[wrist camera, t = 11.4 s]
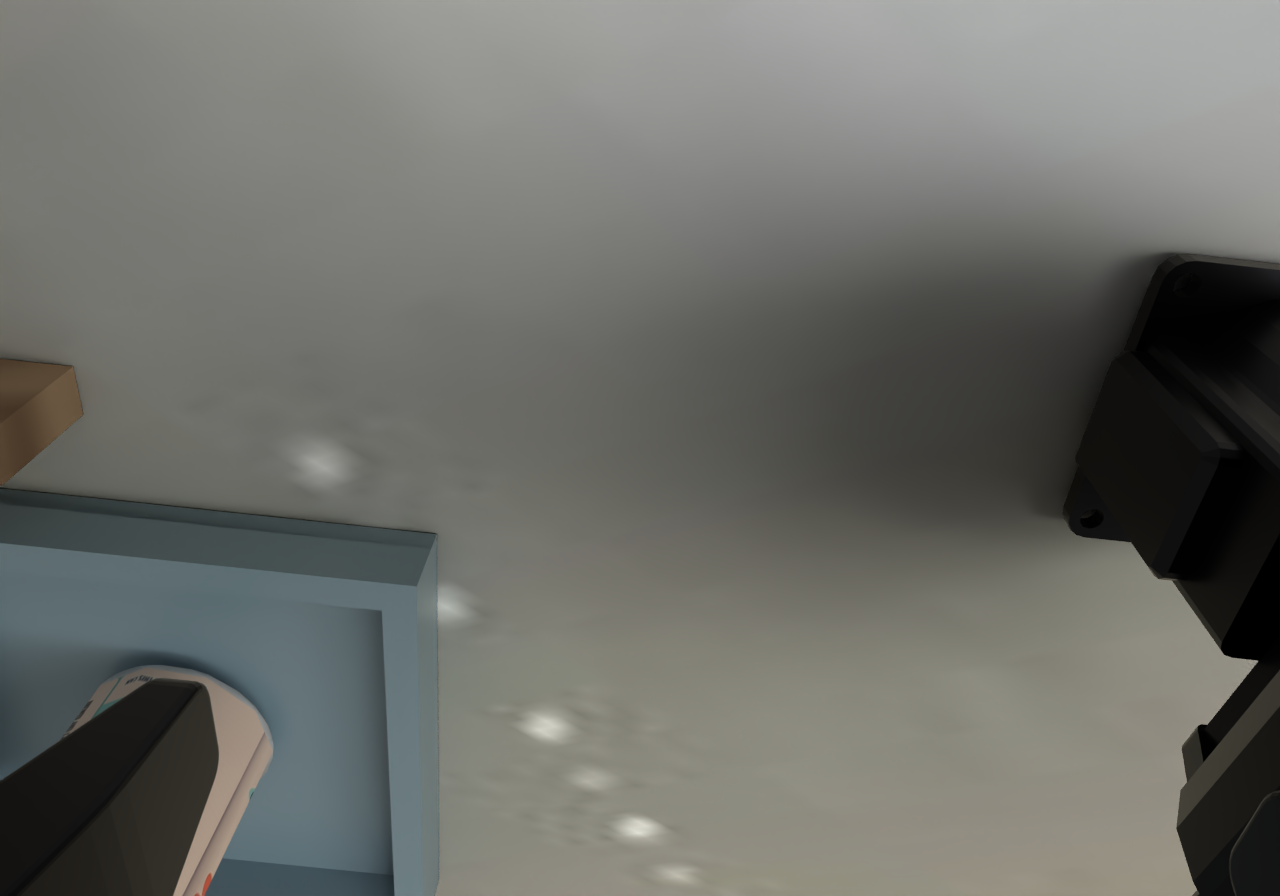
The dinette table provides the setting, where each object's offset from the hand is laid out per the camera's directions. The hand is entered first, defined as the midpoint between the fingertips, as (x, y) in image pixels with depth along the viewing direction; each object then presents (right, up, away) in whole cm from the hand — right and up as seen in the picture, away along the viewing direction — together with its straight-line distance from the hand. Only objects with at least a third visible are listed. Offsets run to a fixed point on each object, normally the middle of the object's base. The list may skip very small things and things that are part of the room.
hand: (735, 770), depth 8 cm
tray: (-13, -4, +18) cm, 23 cm away
